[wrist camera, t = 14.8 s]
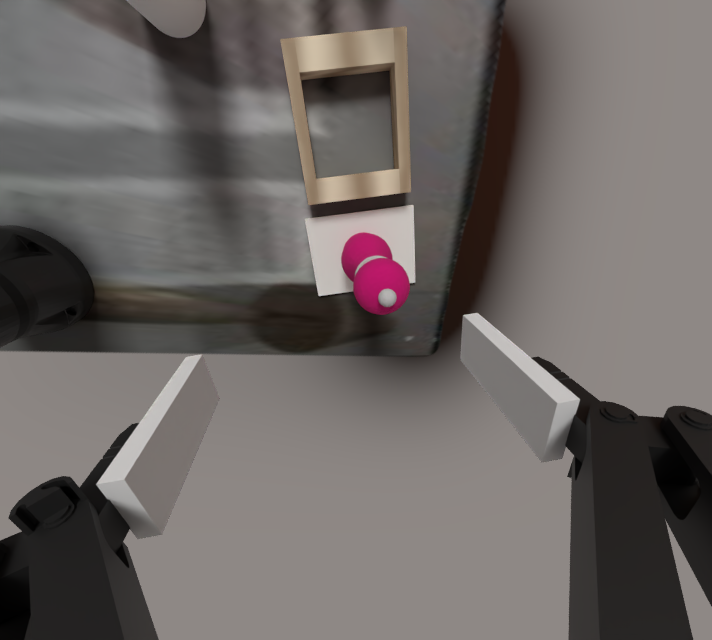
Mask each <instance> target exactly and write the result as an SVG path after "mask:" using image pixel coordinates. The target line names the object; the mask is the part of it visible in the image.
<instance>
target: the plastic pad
mask: <svg viewBox="0 0 712 640" xmlns="http://www.w3.org/2000/svg"><path fill="white" fill-rule="evenodd" d="M305 223H306V228H307V234H308V239H309V245H310V251H311V256H312V262H313V267H314V273H315V279H316V284H317V290H318V295H319V296H323V295H331V294H338V293H345V292H352V291H353V281H351V280H350V279H349V278H348V277H347V275H346V274H345V272H344V270H343V268H342V264H341V256H342V252H343V249H344V245H345V243H346V242H347V240H348V239H349V238H350V237H351V236H353V235H355V234H357V233H362V232H366V233H370V234H375V235H377V236H379V237H381V238H382V239H383V240H385V241H386V243H387V244H388V246H389V247H390V250H391V253H392V258H393V260H394V261H396V262H397V263H399V264H400V265H401V266H402V267H403V268H404V270H405V271H406V273H407V275H408V278H409V283H415V248H414V206H413V205H407V206H400V207H392V208H384V209H376V210H369V211H361V212H353V213H346V214H338V215H330V216H322V217H315V218H307V219H305Z"/></svg>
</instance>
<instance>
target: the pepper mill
mask: <svg viewBox="0 0 712 640" xmlns="http://www.w3.org/2000/svg"><path fill="white" fill-rule="evenodd" d="M341 264H342V268H343V270H344V272H345V274H346V275H347V277H348V278H349V279H350V280H351V281H353V291H354V295H355V298H356V300H357V301H358V303H359V304H360V305H361V307H363V308H364V309H365V310H367V311H368V312H370V313H373V314H379V315H384V314H389V313H392V312H394V311H396V310H397V309H399V308H400V307H401V306H402V305H403V304H404V303H405V301H406V299H407V297H408V294H409V290H410V283H409V278H408V275H407V273H406V271H405V270H404V268H403V267H402V266H401V265H400V264H399V263H397V262H396V261H394V260H393V258H392V253H391V250H390V247H389V246H388V244H387V243H386V241H385V240H383V239H382V238H381V237H379V236H377V235H375V234H370V233H366V232H362V233H357V234H355V235H353V236H351V237H350V238H349V239H348V240H347V242H346V243H345V245H344V249H343V252H342V256H341Z"/></svg>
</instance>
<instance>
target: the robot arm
mask: <svg viewBox="0 0 712 640" xmlns="http://www.w3.org/2000/svg"><path fill="white" fill-rule="evenodd" d="M92 302H93V286H92V282H91V279H90V277H89V275H88V273H87V271H86V269H85V268H84V266H83V265H82V263H81V262H80V261H79V260H78V258H77V257H76V256H75V255H74V254H73V253H72V252H71V251H70V250H68V249H67V248H66V247H65V246H63V245H62V244H61V243H59V242H58V241H56V240H54V239H53V238H51V237H49V236H47V235H45V234H43V233H41V232H38V231H35V230H32V229H29V228H25V227H19V226H0V348H1V347H3V346H5V345H7V344H8V343H10V342H12V341H14V340H16V339H18V338H23V337H28V336H34V335H39V334H44V333H49V332H54V331H58V330H61V329H64V328H66V327H68V326H70V325H72V324H74V323H75V322H77V321H79V320H80V319H82V318H83V317H84V316H85V315H86V314H87V313H88V311H89V310H90V308H91V305H92ZM460 360H461V361H462V362H463V364H464V365H465V366H466V368H467V369H468V370H469V371H470V373H471V374H472V375H473V376H474V378H475V379H476V380H477V381H478V383H479V384H480V385H481V386H482V387H483V389H484V390H485V391H486V393H487V394H488V395H489V396H490V398H491V399H492V400H493V401H494V403H495V404H496V405H497V406H498V407H499V409H500V410H501V412H502V413H503V414H504V415H505V417H506V418H507V419H508V420H509V422H510V423H511V424H512V425H513V427H514V428H515V429H516V430H517V432H518V433H519V434H520V436H522V438H523V439H524V441H525V442H526V443H527V444H528V445H529V447H530V448H531V449H532V451H533V452H534V453H535V454H536V456H537V457H538V458H539V459H540V461H541V462H547V461H552V460H558V459H562V457H563V454H564V451H565V447H567V448H568V449H569V450H570V451H571V452H572V453H573V454H574V458H573V461H572V464H571V467H570V470H569V473H568V476H567V477H570V478H571V477H572V491H571V493H572V494H571V543H570V545H571V546H570V596H569V640H693V637H692V633H691V629H690V625H689V620H688V616H687V611H686V607H685V603H684V598H683V594H682V590H681V586H680V581H679V577H678V573H677V569H676V564H675V560H674V556H673V551H672V547H671V542H670V539H669V534H668V530H667V525H666V521H667V523H668V525H669V527H670V528H671V531H672V532H673V534H674V536H675V538H676V540H677V542H678V544H679V546H680V548H681V549H682V551H683V553H684V555H685V557H686V559H687V561H688V563H689V565H690V567H691V568H692V570H693V572H694V574H695V576H696V578H697V580H698V582H699V583H700V585H701V587H702V589H703V591H704V593H705V595H706V597H707V599H708V601H709V602H710V604H711V606H712V415H710V414H708V413H706V412H704V411H701V410H698V409H695V408H690V407H686V406H673V407H670V408H668V409H667V411H666V413H665V415H664V417H663V418H662V417H648V416H638V415H637V414H636V413H634V412H633V411H632V410H630V409H628V408H626V407H624V406H622V405H619V404H616V403H613V402H606V401H601V402H600V401H599V400H598V399H597V398H595V397H594V396H593V395H591V394H590V393H589V392H588V391H586V390H585V389H584V388H583V387H581V386H580V385H579V384H578V383H576V382H575V381H574V380H572V379H570V378H569V376H567V375H566V374H565V373H563V372H561V370H560V369H558V368H557V367H556V366H555V365H553V364H552V363H551V362H549V361H546V360H544V359H542V358H540V357H533V358H530V357H529V356H528V355H527V354H526V353H524V352H523V351H522V350H521V349H520V348H519V347H517V346H516V345H515V344H514V343H513V342H511V341H510V340H509V339H508V338H507V337H505V336H504V335H503V334H502V333H501V332H499V331H498V330H497V329H496V328H495V327H494V326H492V325H491V324H490V323H489V322H488V321H486V320H485V319H484V318H483V317H482V316H480V315H479V314H478V313H474V314H468V315H463V325H462V341H461V356H460ZM219 399H220V398H219V395H218V393H217V390H216V388H215V385H214V383H213V380H212V378H211V375H210V373H209V371H208V367H207V365H206V363H205V360H204V358H203V355H196V356H189V357H186V358H185V360H184V361H183V362H182V364H181V365H180V367H179V368H178V369H177V371H176V372H175V374H174V375H173V376H172V378H171V379H170V381H169V382H168V383H167V385H166V386H165V388H164V389H163V390H162V392H161V393H160V395H159V396H158V398H157V399H156V400H155V402H154V403H153V405H152V406H151V407H150V409H149V410H148V412H147V413H146V414H145V416H144V417H143V419H142V420H141V422H140V423H135V424H132V425H131V426H129V427H128V428H127V429H126V430H125V431H124V432H122V433H121V434H120V435H119V436H118V437H117V439H116V440H115V441H114V443H113V444H112V445H111V447H110V449H108V451H107V452H106V453H105V455H104V456H103V459H101V460H100V462H99V463H98V464H97V465H96V467H95V468H94V469H93V471H92V472H91V473H90V475H89V476H88V477H87V479H86V480H85V481H84V483H83V484H82V485H81V487H80V488H79V487H78V486H77V484H76V483H75V482H74V481H73V480H72V478H70V477H66V476H62V477H58V478H54V479H51V480H49V481H47V482H45V483H43V484H41V485H39V486H38V487H36V488H34V489H33V490H31V491H30V492H29V493H27V494H26V495H25V496H24V497H23V498H22V499H21V500H19V501H18V503H17V504H16V505H15V506H14V507H13V509H12V510H11V512H10V515H9V519H10V520H11V521H12V522H13V523H14V524H15V525H16V526H17V527H18V528H19V529H21V530H22V532H20V533H17V534H15V535H12V536H10V537H8V538H5V539H3V540H1V541H0V640H158V637H157V634H156V631H155V628H154V625H153V622H152V619H151V616H150V613H149V610H148V607H147V604H146V601H145V598H144V595H143V592H142V589H141V586H140V583H139V580H138V577H137V574H136V571H135V568H134V565H133V562H132V559H131V556H130V553H129V551H128V547H127V546H126V545H125V544H124V543H123V540H124V538H125V537H126V535H127V533H128V531H129V529H130V530H131V531H132V532H133V533H134V535H135V536H136V537H137V539H140V538H146V537H151V536H156V535H161V534H162V533H163V531H164V528H165V526H166V524H167V522H168V519H169V517H170V515H171V512H172V509H173V507H174V505H175V503H176V500H177V498H178V496H179V493H180V491H181V489H182V486H183V484H184V482H185V479H186V476H187V474H188V472H189V470H190V467H191V465H192V463H193V460H194V458H195V456H196V453H197V451H198V449H199V446H200V444H201V441H202V439H203V437H204V434H205V432H206V430H207V427H208V425H209V423H210V420H211V418H212V416H213V413H214V411H215V408H216V406H217V404H218V401H219ZM665 519H666V521H665Z"/></svg>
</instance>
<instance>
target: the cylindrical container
mask: <svg viewBox="0 0 712 640" xmlns="http://www.w3.org/2000/svg"><path fill="white" fill-rule="evenodd" d="M126 1H127V2H128V3H129V4H131V5H132V6H133V7H134V8H135V9H136V10H137V11H138V12H139V13H141V14H142V15H143V16H144V17H145V18H146V19H147V20H148V21H149V22H151V23H152V24H153V25H154V26H155V27H156V28H157V29H158V30H160V31H161V32H163V33H164V34H166V35H169V36H171V37H175V38H186V37H189V36H191V35H193V34H194V33H196V32H197V31H198V29H199V28H200V27H201V25H202V23H203V21H204V17H205V12H206V0H126Z"/></svg>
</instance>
